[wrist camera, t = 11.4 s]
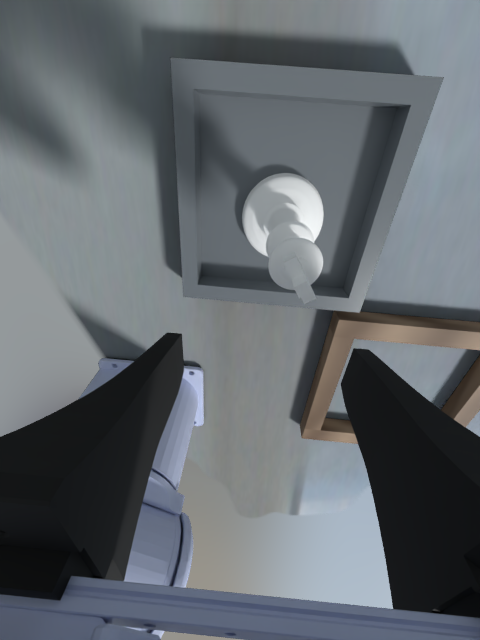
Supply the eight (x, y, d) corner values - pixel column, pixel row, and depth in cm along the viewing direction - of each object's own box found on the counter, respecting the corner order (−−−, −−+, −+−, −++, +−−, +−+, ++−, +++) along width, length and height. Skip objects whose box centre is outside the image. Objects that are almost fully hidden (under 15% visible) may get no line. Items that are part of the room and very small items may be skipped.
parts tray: (189, 284, 20) (183, 296, 19) (181, 68, 14) (170, 57, 12) (351, 298, 20) (359, 312, 18) (420, 86, 13) (443, 77, 12)
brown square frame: (299, 425, 28) (301, 438, 27) (334, 309, 21) (339, 319, 19) (436, 438, 28) (444, 452, 27) (522, 326, 20) (539, 337, 19)
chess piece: (264, 268, 19) (267, 369, 10) (227, 201, 16) (192, 258, 8) (334, 233, 17) (405, 318, 9) (303, 154, 15) (358, 164, 6)
